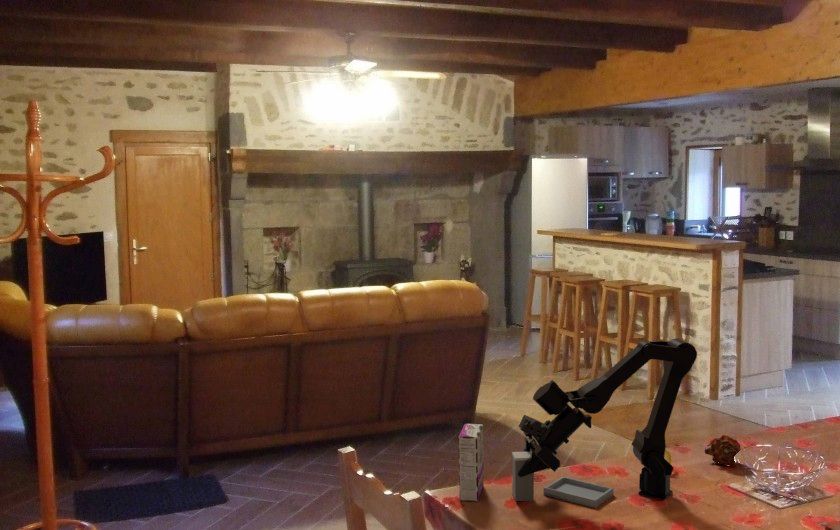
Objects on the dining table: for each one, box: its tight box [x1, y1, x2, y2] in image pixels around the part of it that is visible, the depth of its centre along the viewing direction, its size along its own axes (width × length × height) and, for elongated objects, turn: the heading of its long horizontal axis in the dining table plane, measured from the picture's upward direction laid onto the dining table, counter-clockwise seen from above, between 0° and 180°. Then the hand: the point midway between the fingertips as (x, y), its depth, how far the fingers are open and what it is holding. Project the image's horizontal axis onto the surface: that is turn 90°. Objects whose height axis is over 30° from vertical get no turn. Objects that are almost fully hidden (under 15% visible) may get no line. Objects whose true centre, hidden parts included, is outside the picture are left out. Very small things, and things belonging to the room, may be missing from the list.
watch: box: [665, 448, 672, 464], centre depth 219 cm, size 6×3×6 cm, turn 107°
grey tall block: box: [511, 451, 535, 502], centre depth 199 cm, size 5×5×11 cm
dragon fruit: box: [703, 434, 742, 466], centre depth 223 cm, size 8×8×12 cm
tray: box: [543, 476, 614, 509], centre depth 201 cm, size 14×10×2 cm
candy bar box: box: [457, 423, 485, 503], centre depth 203 cm, size 11×5×16 cm, turn 168°
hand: (517, 472), depth 199 cm, fingers closed on grey tall block, 4 cm apart
